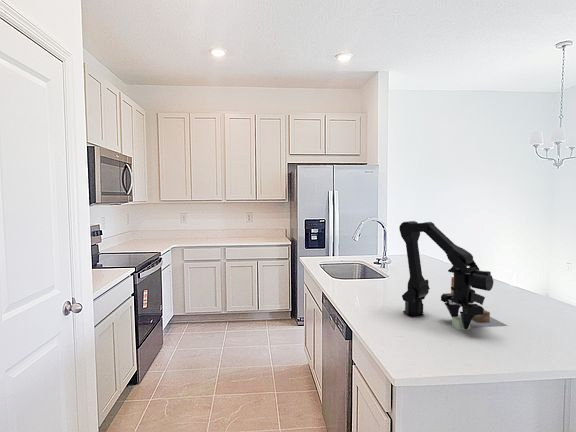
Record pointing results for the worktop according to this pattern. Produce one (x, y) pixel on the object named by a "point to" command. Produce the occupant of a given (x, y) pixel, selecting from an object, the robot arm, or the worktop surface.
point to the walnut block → (482, 317)
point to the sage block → (458, 323)
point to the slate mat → (487, 323)
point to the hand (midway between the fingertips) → (460, 325)
